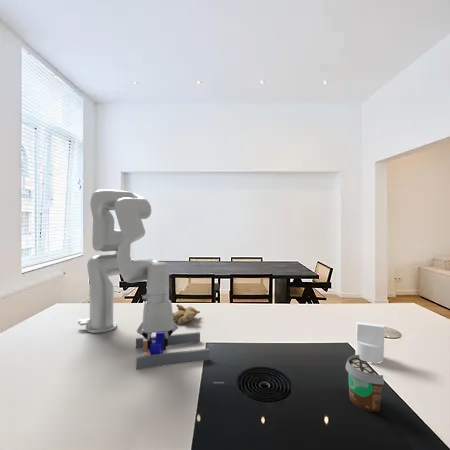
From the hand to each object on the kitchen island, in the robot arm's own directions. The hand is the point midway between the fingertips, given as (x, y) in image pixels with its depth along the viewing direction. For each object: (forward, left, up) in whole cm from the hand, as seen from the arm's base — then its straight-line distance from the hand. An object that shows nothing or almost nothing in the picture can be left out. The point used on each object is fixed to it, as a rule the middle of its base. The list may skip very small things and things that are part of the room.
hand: (157, 349), depth 105 cm
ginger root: (+15, +33, -3) cm, 36 cm away
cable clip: (-1, 0, -2) cm, 2 cm away
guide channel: (+5, 0, -2) cm, 5 cm away
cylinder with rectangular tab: (+72, -21, -2) cm, 75 cm away
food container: (+50, -41, -2) cm, 64 cm away
